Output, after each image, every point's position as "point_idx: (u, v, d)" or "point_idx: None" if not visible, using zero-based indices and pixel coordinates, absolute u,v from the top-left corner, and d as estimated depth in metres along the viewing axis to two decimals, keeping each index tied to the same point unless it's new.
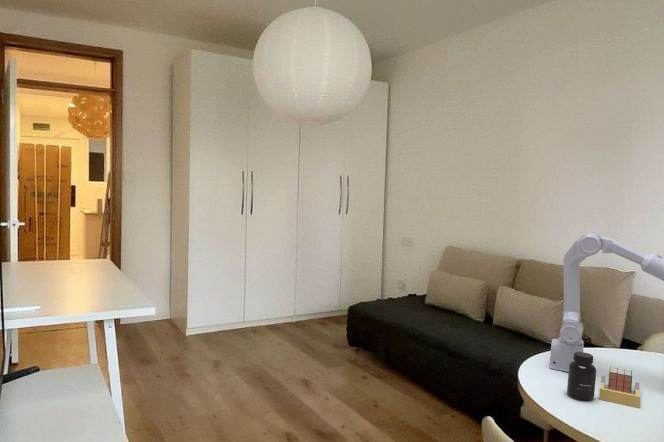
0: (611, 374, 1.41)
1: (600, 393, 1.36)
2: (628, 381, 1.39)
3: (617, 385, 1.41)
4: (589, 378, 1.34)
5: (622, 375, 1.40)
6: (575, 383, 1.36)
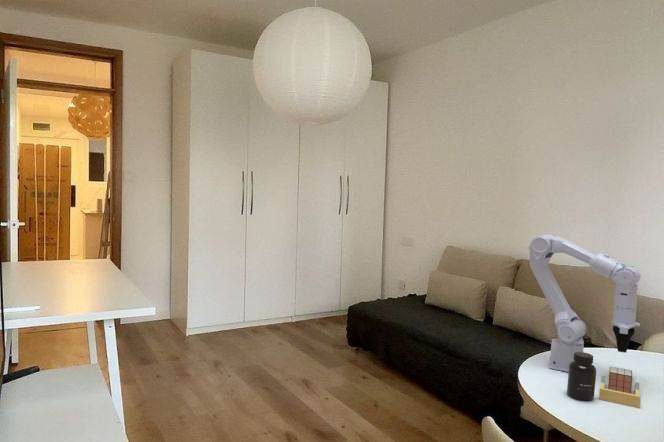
0: (611, 374, 1.41)
1: (600, 393, 1.36)
2: (628, 381, 1.39)
3: (617, 385, 1.41)
4: (589, 378, 1.34)
5: (622, 375, 1.40)
6: (575, 383, 1.36)
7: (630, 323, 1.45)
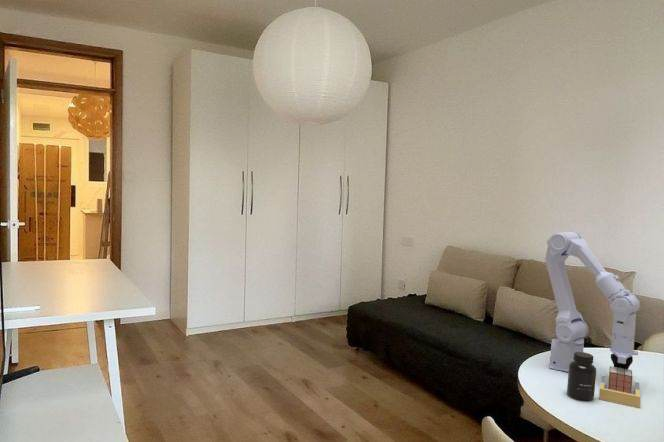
0: (611, 374, 1.41)
1: (600, 393, 1.36)
2: (628, 381, 1.39)
3: (617, 385, 1.41)
4: (589, 378, 1.34)
5: (622, 375, 1.40)
6: (575, 383, 1.36)
7: (628, 352, 1.43)
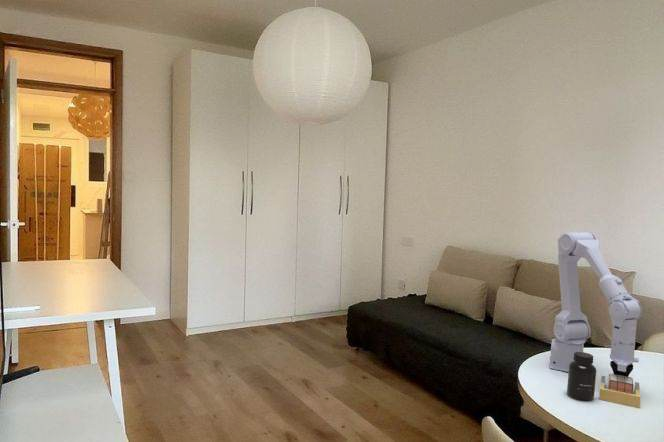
0: (611, 382, 1.35)
1: (600, 393, 1.36)
2: (629, 389, 1.33)
3: None
4: (589, 378, 1.34)
5: (623, 383, 1.34)
6: (575, 383, 1.36)
7: (628, 359, 1.37)
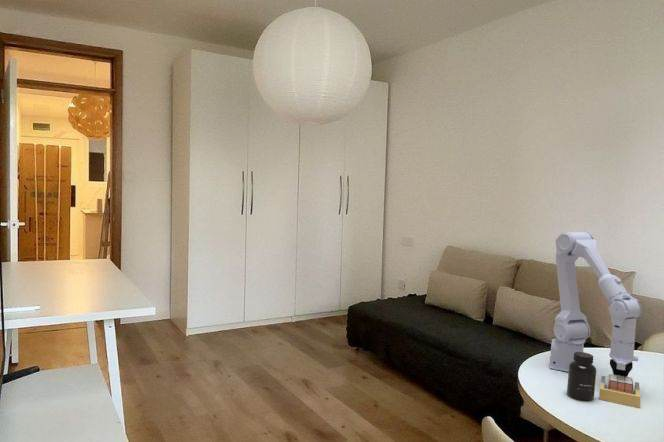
0: (611, 382, 1.35)
1: (600, 393, 1.36)
2: (629, 390, 1.33)
3: None
4: (589, 378, 1.34)
5: (623, 383, 1.34)
6: (575, 383, 1.36)
7: (628, 358, 1.38)
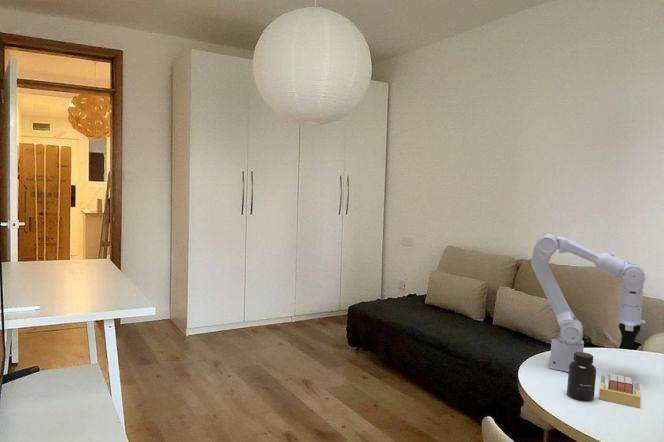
0: (611, 382, 1.35)
1: (600, 393, 1.36)
2: (629, 390, 1.33)
3: None
4: (589, 378, 1.34)
5: (623, 383, 1.34)
6: (575, 383, 1.36)
7: (636, 320, 1.47)
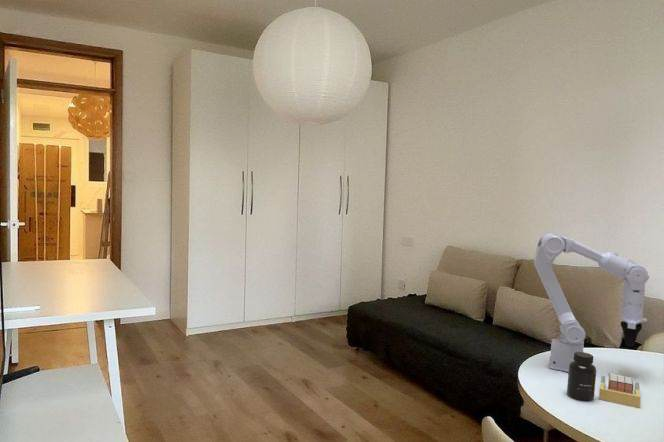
0: (611, 382, 1.35)
1: (600, 393, 1.36)
2: (629, 390, 1.33)
3: None
4: (589, 378, 1.34)
5: (623, 383, 1.34)
6: (575, 383, 1.36)
7: (638, 318, 1.50)
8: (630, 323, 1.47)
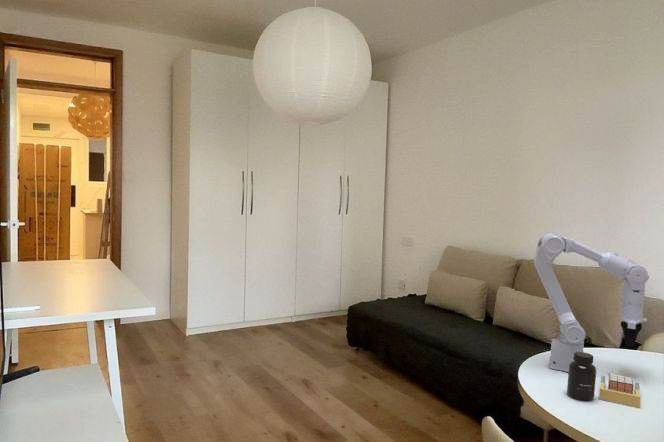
0: (611, 382, 1.35)
1: (600, 393, 1.36)
2: (629, 390, 1.33)
3: None
4: (589, 378, 1.34)
5: (623, 383, 1.34)
6: (575, 383, 1.36)
7: (638, 318, 1.50)
8: (630, 323, 1.47)
